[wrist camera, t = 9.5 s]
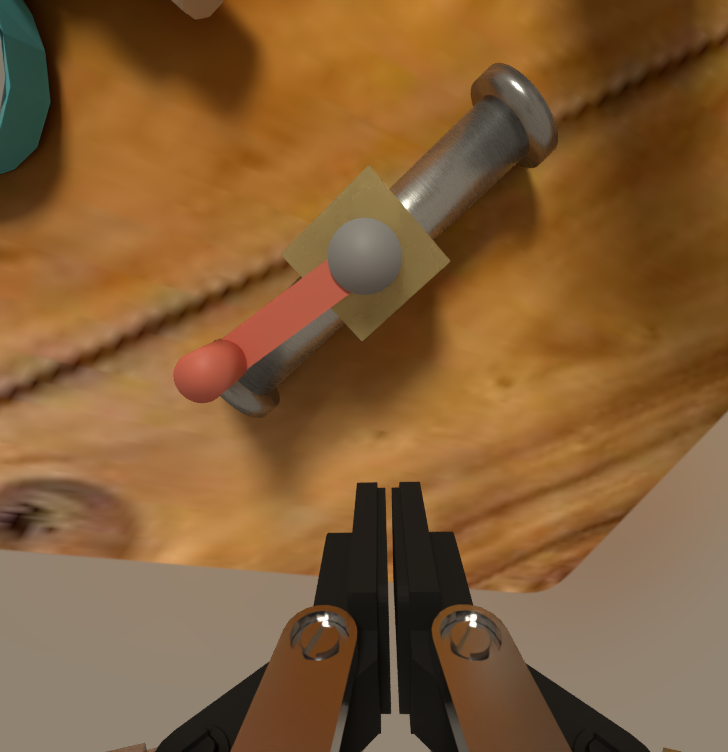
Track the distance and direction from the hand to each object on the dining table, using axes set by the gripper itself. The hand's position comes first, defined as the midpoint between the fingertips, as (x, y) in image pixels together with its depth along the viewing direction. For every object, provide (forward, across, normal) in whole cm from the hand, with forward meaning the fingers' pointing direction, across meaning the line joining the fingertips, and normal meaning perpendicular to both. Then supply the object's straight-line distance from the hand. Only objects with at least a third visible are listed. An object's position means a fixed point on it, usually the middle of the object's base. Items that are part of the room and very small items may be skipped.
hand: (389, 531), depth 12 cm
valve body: (+24, +1, -7) cm, 25 cm away
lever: (+15, +5, -4) cm, 17 cm away
